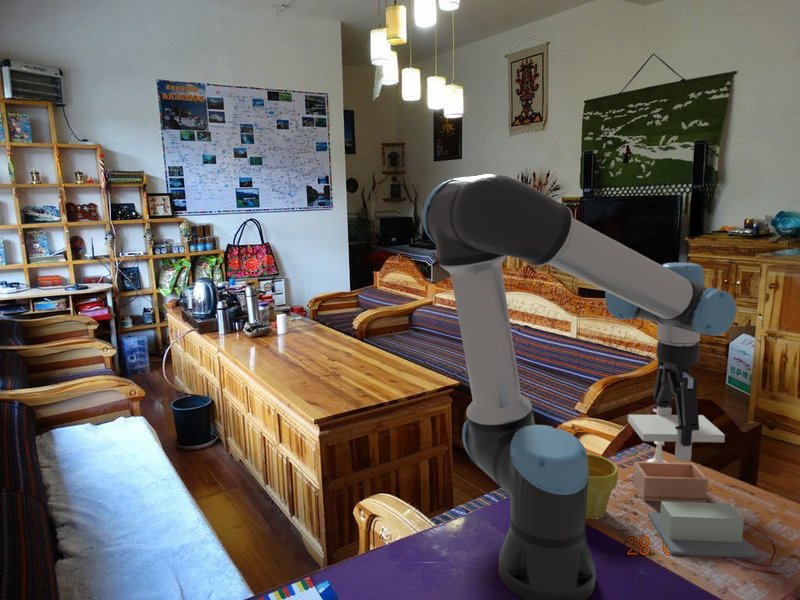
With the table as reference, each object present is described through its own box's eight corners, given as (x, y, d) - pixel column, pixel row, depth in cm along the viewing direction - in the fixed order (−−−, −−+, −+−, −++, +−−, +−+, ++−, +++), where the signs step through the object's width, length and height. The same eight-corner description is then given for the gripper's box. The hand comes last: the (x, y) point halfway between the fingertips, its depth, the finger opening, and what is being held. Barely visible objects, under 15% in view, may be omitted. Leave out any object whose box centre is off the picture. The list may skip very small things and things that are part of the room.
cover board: (643, 441, 108) (643, 433, 108) (627, 421, 118) (628, 414, 117) (724, 442, 106) (724, 434, 106) (701, 421, 116) (702, 415, 116)
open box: (643, 500, 111) (644, 477, 111) (632, 483, 118) (634, 461, 117) (706, 502, 110) (708, 479, 109) (691, 485, 117) (693, 463, 116)
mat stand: (671, 554, 94) (672, 527, 93) (647, 515, 106) (649, 491, 105) (758, 558, 93) (760, 531, 92) (724, 518, 105) (726, 493, 104)
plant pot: (620, 505, 110) (623, 459, 108) (609, 531, 101) (611, 482, 100) (568, 492, 115) (569, 448, 114) (553, 515, 107) (554, 468, 105)
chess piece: (641, 462, 128) (644, 421, 126) (661, 460, 128) (664, 419, 127) (653, 472, 123) (656, 429, 121) (674, 470, 124) (677, 428, 122)
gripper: (725, 357, 97) (717, 474, 101) (676, 328, 119) (670, 425, 123) (680, 357, 98) (674, 473, 102) (639, 328, 120) (635, 425, 124)
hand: (672, 447), depth 113 cm, fingers closed on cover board, 10 cm apart
